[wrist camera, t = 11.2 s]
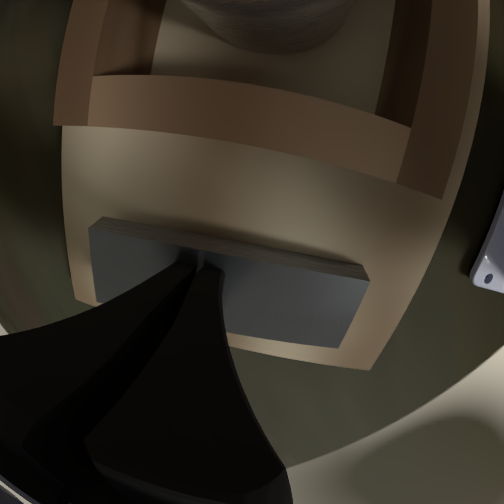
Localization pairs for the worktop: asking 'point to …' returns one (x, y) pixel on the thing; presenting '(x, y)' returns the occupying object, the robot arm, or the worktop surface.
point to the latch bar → (237, 280)
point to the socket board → (275, 141)
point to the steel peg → (273, 22)
